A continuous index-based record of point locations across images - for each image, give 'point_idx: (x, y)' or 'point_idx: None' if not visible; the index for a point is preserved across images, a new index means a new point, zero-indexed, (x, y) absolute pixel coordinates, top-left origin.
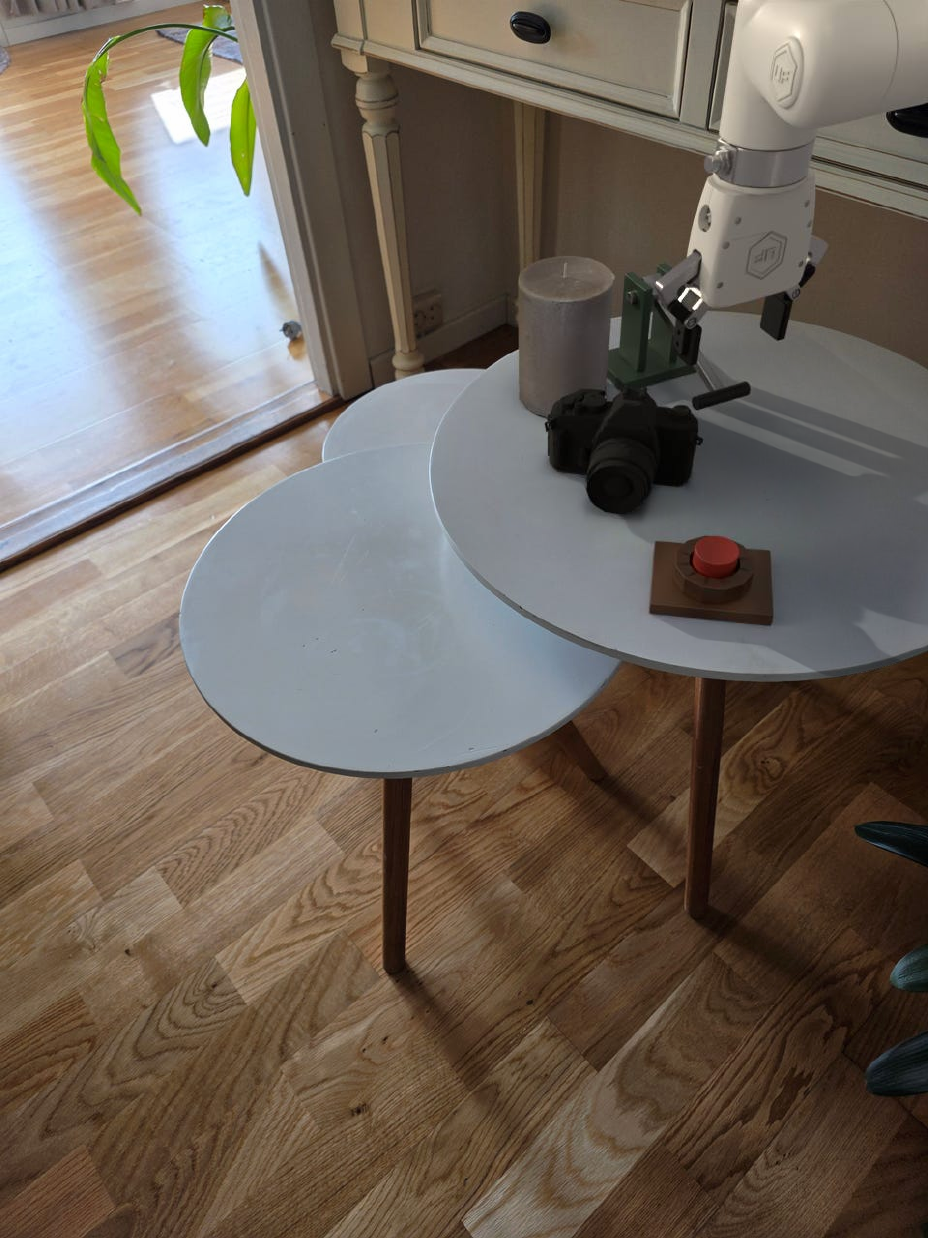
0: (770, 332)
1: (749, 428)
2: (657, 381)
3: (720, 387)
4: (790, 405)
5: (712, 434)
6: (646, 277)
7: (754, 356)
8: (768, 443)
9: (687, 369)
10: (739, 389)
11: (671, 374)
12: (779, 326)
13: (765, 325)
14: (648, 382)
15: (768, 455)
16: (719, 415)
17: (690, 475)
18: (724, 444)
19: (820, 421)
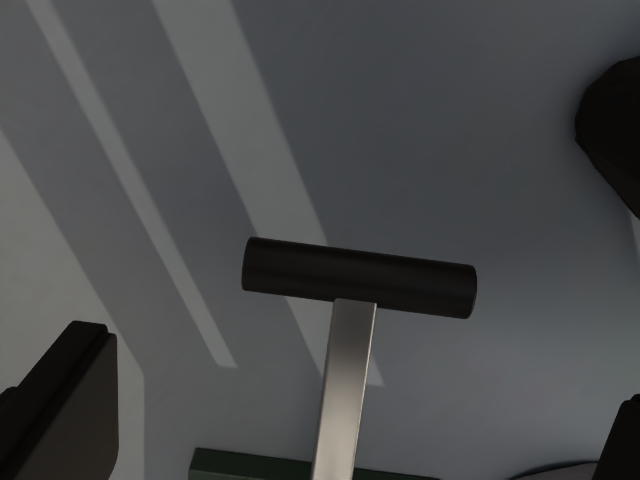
0: (110, 392)
1: (254, 173)
2: None
3: (352, 305)
4: (68, 194)
5: (371, 212)
6: None
7: None
8: (255, 77)
9: (238, 464)
10: (295, 260)
11: (290, 470)
12: (83, 383)
13: (107, 444)
14: (362, 476)
15: (299, 24)
16: None
17: (623, 63)
18: (376, 152)
19: (31, 74)
